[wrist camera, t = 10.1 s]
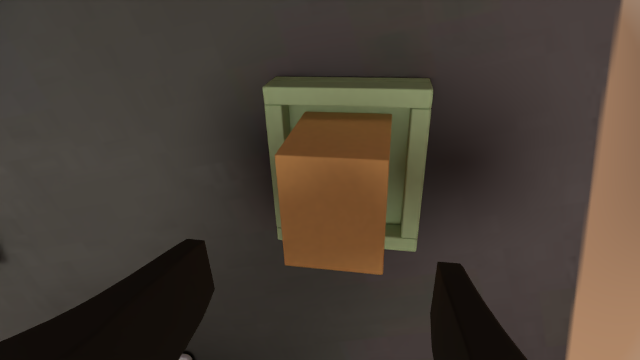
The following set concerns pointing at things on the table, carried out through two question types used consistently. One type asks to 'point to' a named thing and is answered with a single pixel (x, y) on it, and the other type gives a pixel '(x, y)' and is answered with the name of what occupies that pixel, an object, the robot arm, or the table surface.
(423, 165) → the open green tray
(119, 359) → the robot arm
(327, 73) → the table surface
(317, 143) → the brown rectangular block
